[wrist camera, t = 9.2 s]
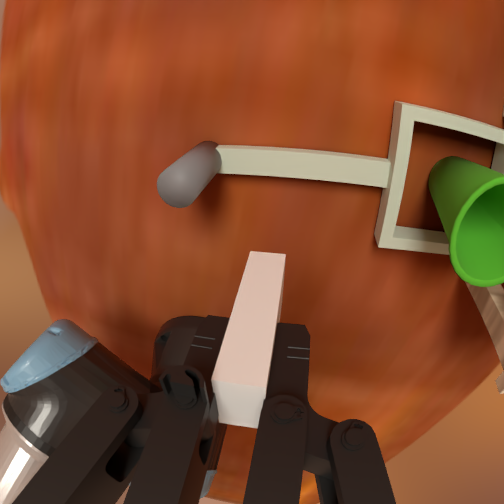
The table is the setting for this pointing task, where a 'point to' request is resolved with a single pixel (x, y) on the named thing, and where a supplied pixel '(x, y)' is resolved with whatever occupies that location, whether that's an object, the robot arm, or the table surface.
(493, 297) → the bridge
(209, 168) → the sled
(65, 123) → the table surface
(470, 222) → the cup
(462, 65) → the table surface
